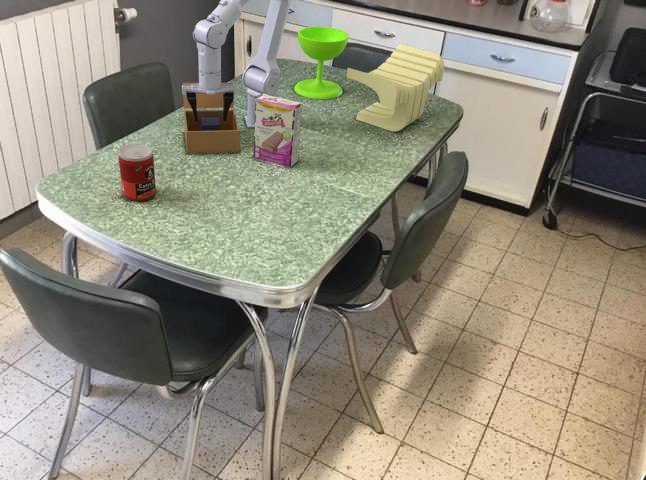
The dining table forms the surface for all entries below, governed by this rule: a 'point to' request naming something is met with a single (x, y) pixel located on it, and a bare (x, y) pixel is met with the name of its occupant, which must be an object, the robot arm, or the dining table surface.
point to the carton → (211, 133)
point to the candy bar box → (277, 129)
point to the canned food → (137, 171)
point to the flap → (207, 99)
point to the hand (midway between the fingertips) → (210, 119)
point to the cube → (210, 124)
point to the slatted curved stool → (400, 87)
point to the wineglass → (321, 59)
